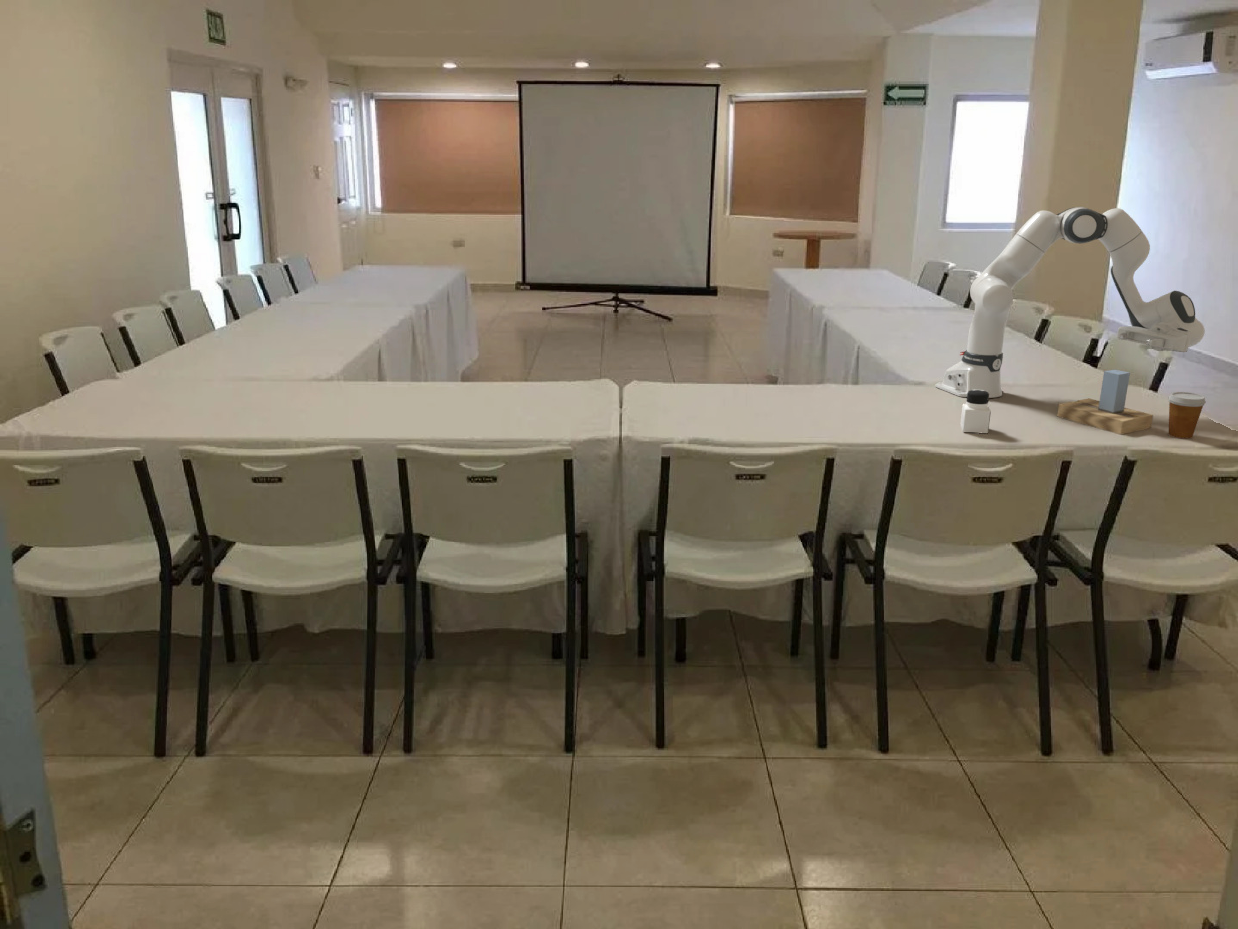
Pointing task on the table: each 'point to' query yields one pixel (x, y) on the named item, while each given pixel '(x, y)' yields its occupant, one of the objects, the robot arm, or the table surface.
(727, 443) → the table surface
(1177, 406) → the disposable coffee cup
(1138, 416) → the board
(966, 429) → the medicine bottle
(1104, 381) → the block
